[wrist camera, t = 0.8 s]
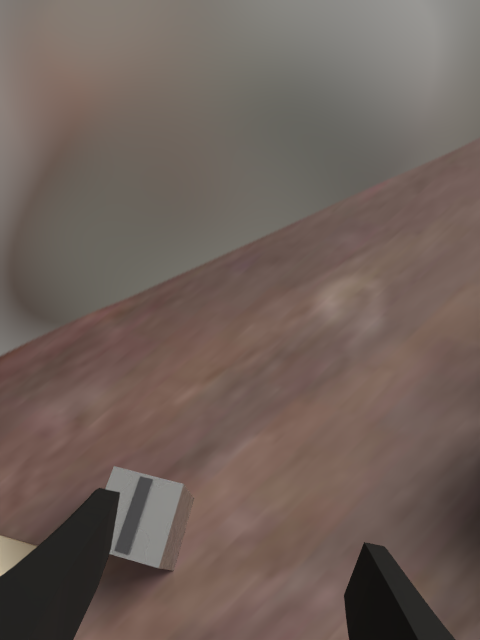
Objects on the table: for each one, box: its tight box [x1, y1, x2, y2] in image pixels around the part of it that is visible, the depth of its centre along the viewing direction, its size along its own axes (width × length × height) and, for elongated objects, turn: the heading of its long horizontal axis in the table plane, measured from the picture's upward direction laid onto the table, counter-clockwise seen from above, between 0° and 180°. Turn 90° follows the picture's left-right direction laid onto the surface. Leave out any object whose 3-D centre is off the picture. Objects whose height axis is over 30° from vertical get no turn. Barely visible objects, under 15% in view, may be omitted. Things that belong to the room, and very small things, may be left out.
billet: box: [106, 466, 194, 571], centre depth 27 cm, size 4×4×5 cm
